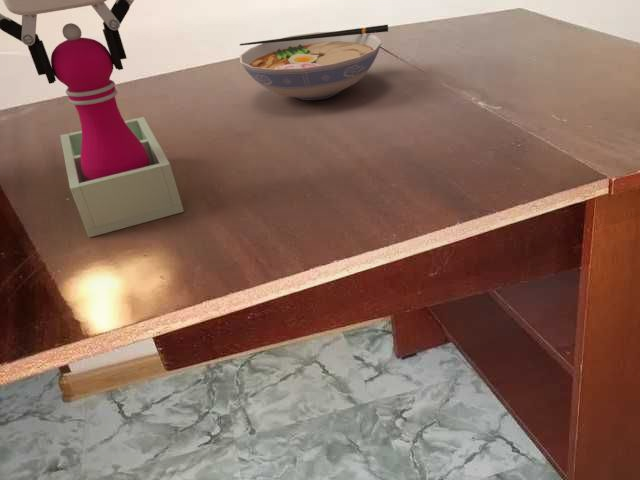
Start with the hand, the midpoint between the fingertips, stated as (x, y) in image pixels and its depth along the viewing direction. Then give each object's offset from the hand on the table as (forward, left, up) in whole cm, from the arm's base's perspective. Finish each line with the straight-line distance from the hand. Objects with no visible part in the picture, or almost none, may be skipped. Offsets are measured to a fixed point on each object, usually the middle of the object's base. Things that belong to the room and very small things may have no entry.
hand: (85, 72), depth 75 cm
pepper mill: (0, 0, -15) cm, 15 cm away
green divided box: (-4, +2, -16) cm, 17 cm away
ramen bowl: (-5, +42, -16) cm, 46 cm away
